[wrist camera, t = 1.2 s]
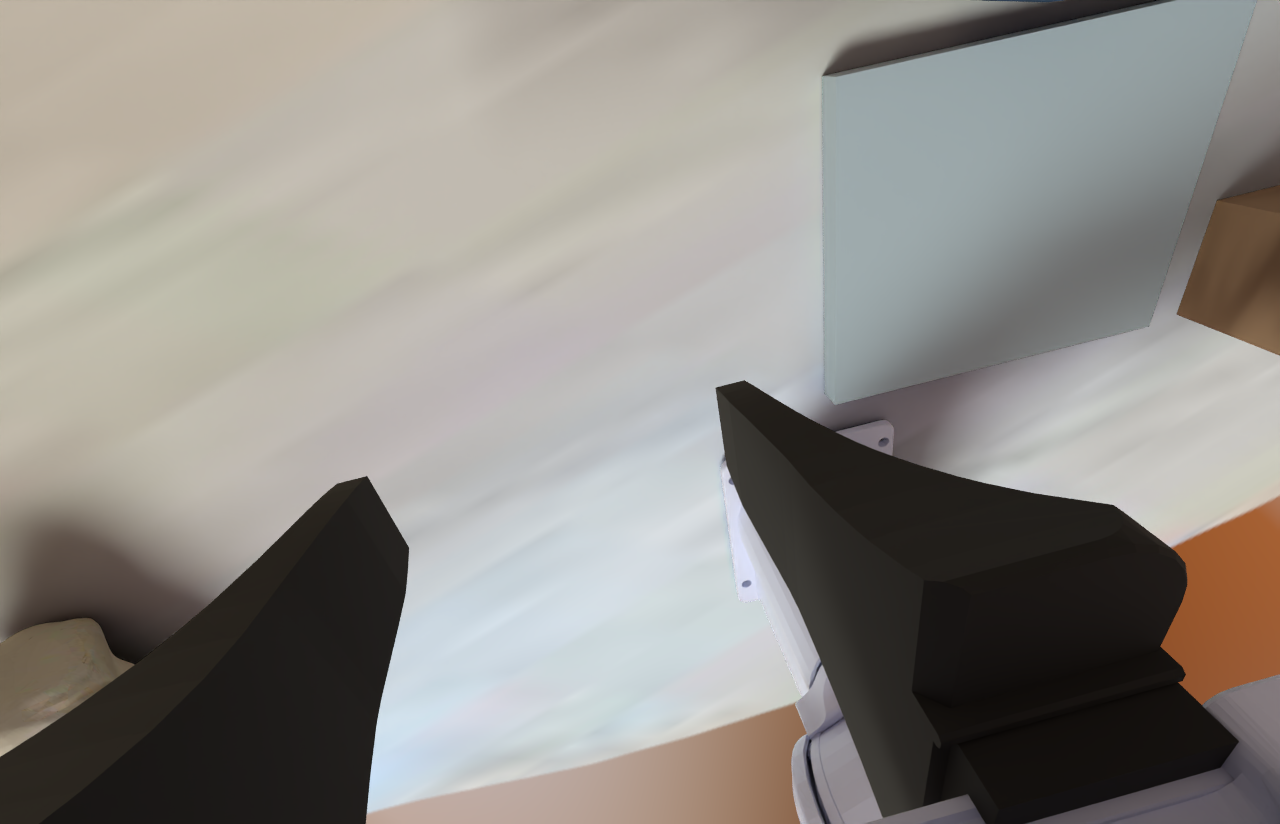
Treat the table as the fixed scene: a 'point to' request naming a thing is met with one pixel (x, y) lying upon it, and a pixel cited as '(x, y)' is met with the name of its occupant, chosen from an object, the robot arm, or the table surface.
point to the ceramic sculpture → (51, 675)
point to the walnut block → (1239, 270)
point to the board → (1013, 189)
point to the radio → (1027, 0)
